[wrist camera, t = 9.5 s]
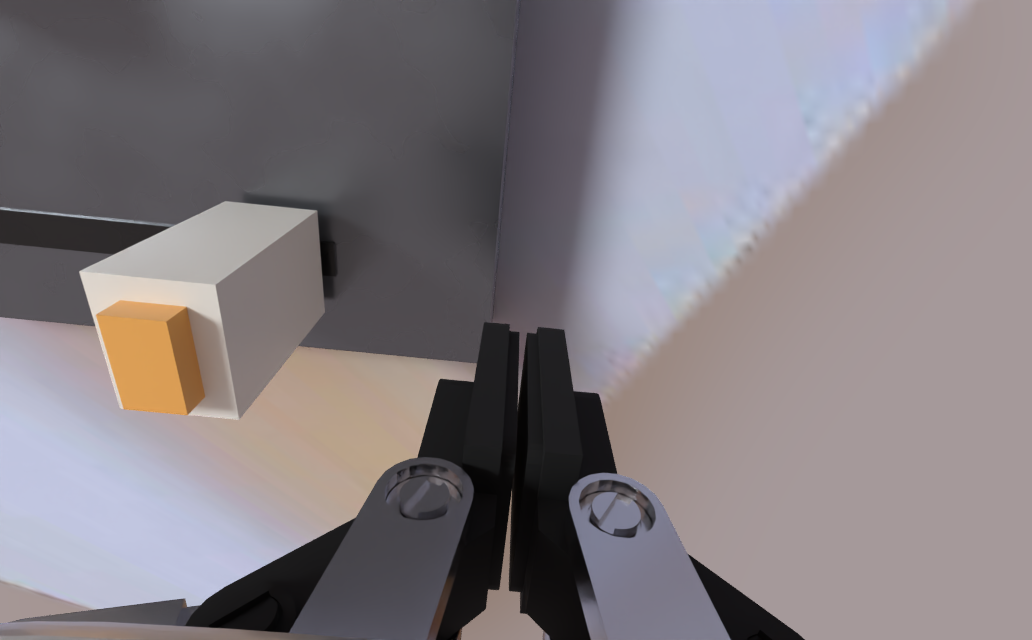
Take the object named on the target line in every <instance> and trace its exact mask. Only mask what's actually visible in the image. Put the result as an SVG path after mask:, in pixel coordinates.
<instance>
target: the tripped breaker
mask: <svg viewBox="0 0 1032 640" xmlns="http://www.w3.org/2000/svg"><path fill="white" fill-rule="evenodd" d="M79 273H80V276H81V280H82V283H83V286H84V290H85V293H86V296H87V300H88V303H89V306H90V310H91V313H92V316H93V320H94V323H95V326H96V330H97V333H98V336H99V340H100V343H101V346H102V350H103V353H104V356H105V360H106V363H107V366H108V370H109V373H110V376H111V380H112V383H113V386H114V390H115V393H116V396H117V400H118V403H119V406H120V409H127V410H138V411H148V412H159V413H170V414H180V415H194V416H205V417H216V418H226V419H237V420H239V419H240V418H241V417H242V415H243V414H244V413H245V412H246V410H247V409H248V408H249V407H250V405H251V404H252V403H253V402H254V400H255V399H256V398H257V397H258V395H259V394H260V393H261V392H262V390H263V389H264V388H265V387H266V385H267V384H268V383H269V382H270V380H271V379H272V378H273V377H274V375H275V374H276V373H277V372H278V370H279V369H280V368H281V367H282V365H283V364H284V363H285V362H286V360H287V359H288V358H289V357H290V355H291V354H292V353H293V352H294V350H295V349H296V348H297V347H298V345H299V344H300V343H301V342H302V340H303V339H304V338H305V337H306V335H307V334H308V333H309V332H310V330H311V329H312V328H313V327H314V325H315V324H316V323H317V322H318V320H319V319H320V318H321V317H322V315H323V314H324V313H325V307H324V294H323V280H322V267H321V254H320V240H319V227H318V214H317V210H307V209H297V208H288V207H278V206H268V205H258V204H249V203H239V202H229V201H225V202H223V203H221V204H218V205H216V206H214V207H212V208H210V209H208V210H206V211H204V212H202V213H200V214H198V215H196V216H193V217H191V218H189V219H187V220H185V221H183V222H181V223H179V224H177V225H175V226H173V227H170V228H168V229H166V230H164V231H162V232H160V233H158V234H156V235H154V236H152V237H150V238H148V239H145V240H143V241H141V242H139V243H137V244H135V245H133V246H131V247H129V248H127V249H125V250H122V251H120V252H118V253H116V254H114V255H112V256H110V257H108V258H106V259H104V260H102V261H99V262H97V263H95V264H93V265H91V266H89V267H87V268H85V269H83V270H81V271H79Z"/></svg>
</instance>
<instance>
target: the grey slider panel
mask: <svg viewBox="0 0 1032 640" xmlns="http://www.w3.org/2000/svg"><path fill="white" fill-rule="evenodd" d="M519 8H520V0H0V317H5V318H15V319H26V320H36V321H46V322H57V323H67V324H77V325H88V326H95V323H94V320H93V316H92V313H91V310H90V306H89V303H88V300H87V296H86V293H85V290H84V286H83V283H82V280H81V276H80V273H79V271H81V270H83V269H85V268H87V267H89V266H91V265H93V264H95V263H97V262H99V261H102V260H104V259H106V258H108V257H110V256H112V255H114V254H116V253H118V252H120V251H122V250H125V249H127V248H129V247H131V246H133V245H135V244H137V243H139V242H141V241H143V240H145V239H148V238H150V237H152V236H154V235H156V234H158V233H160V232H162V231H164V230H166V229H168V228H170V227H173V226H175V225H177V224H179V223H181V222H183V221H185V220H187V219H189V218H191V217H193V216H196V215H198V214H200V213H202V212H204V211H206V210H208V209H210V208H212V207H214V206H216V205H218V204H221V203H223V202H225V201H229V202H239V203H249V204H258V205H268V206H278V207H288V208H297V209H307V210H317V214H318V227H319V240H320V254H321V267H322V280H323V294H324V307H325V313H324V314H323V315H322V317H321V318H320V319H319V320H318V322H317V323H316V324H315V325H314V327H313V328H312V329H311V330H310V332H309V333H308V334H307V335H306V337H305V338H304V339H303V340H302V342H301V343H300V344H299V345H298V346H304V347H315V348H325V349H335V350H345V351H356V352H366V353H376V354H387V355H397V356H407V357H418V358H428V359H438V360H449V361H459V362H469V363H477V361H478V355H479V349H480V343H481V337H482V331H483V325H484V322H489V323H492V319H493V307H494V296H495V284H496V273H497V261H498V250H499V238H500V227H501V215H502V204H503V192H504V181H505V169H506V158H507V146H508V135H509V123H510V112H511V100H512V89H513V77H514V66H515V54H516V43H517V31H518V20H519Z"/></svg>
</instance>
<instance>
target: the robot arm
mask: <svg viewBox="0 0 1032 640" xmlns="http://www.w3.org/2000/svg"><path fill="white" fill-rule="evenodd" d="M509 328H510V324H499V323H489V322H484V325H483V331H482V337H481V343H480V349H479V355H478V361H477V367H476V374H475V380H474V382H468V381H457V380H446V379H440V380H439V382H438V386H437V389H436V393H435V396H434V400H433V404H432V407H431V411H430V414H429V418H428V422H427V425H426V429H425V432H424V436H423V440H422V443H421V447H420V450H419V454H418V458H414V459H409V460H406V461H403V462H400V463H398V464H396V465H394V466H393V467H391V468H390V469H388V470H387V471H385V473H384V474H383V475H382V476H381V477H380V478H379V480H378V481H377V483H376V484H375V486H374V488H373V489H372V491H371V493H370V495H369V496H368V498H367V500H366V501H365V503H364V505H363V507H362V508H361V510H360V512H359V513H358V515H357V517H356V518H354V519H352V520H351V521H349V522H347V523H345V524H343V525H341V526H339V527H337V528H335V529H334V530H332V531H330V532H328V533H326V534H324V535H322V536H320V537H318V538H317V539H315V540H313V541H311V542H309V543H307V544H305V545H303V546H301V547H300V548H298V549H296V550H294V551H292V552H290V553H288V554H286V555H284V556H283V557H281V558H279V559H277V560H275V561H273V562H271V563H269V564H267V565H266V566H264V567H262V568H260V569H258V570H256V571H254V572H252V573H250V574H249V575H247V576H245V577H243V578H241V579H239V580H237V581H235V582H233V583H232V584H230V585H228V586H226V587H224V588H223V589H221V590H220V591H218V592H217V593H215V594H214V595H212V596H211V597H209V598H208V599H206V600H205V602H204V603H203V604H202V605H200V606H192V607H187V605H186V601H185V599H177V600H169V601H161V602H153V603H145V604H137V605H129V606H121V607H113V608H105V609H97V610H89V611H81V612H73V613H65V614H57V615H49V616H41V617H33V618H25V619H20V620H16V621H13V622H9V623H0V640H461V635H462V627H464V626H465V625H466V624H468V623H469V622H470V621H471V620H473V619H474V618H475V617H476V616H478V615H479V614H480V613H481V612H482V611H484V610H485V609H486V602H487V593H488V589H491V590H499V587H500V580H501V572H502V564H503V556H504V547H505V540H506V532H507V523H508V515H509V507H510V499H511V491H512V505H511V538H510V568H509V591H515V592H520V613H525V614H528V615H529V616H530V617H531V618H532V619H533V620H534V621H535V622H536V623H537V624H538V625H539V626H540V627H541V628H542V629H543V630H544V631H543V640H805V639H803V638H802V637H801V636H800V635H799V634H798V633H796V632H795V631H794V630H792V629H791V628H789V627H788V626H787V625H785V624H784V623H783V622H781V621H780V620H778V619H777V618H776V617H774V616H773V615H771V614H770V613H769V612H767V611H766V610H765V609H763V608H762V607H760V606H759V605H758V604H756V603H755V602H753V601H752V600H751V599H749V598H748V597H747V596H745V595H744V594H743V593H741V592H740V591H738V590H737V589H736V588H734V587H733V586H732V585H730V584H729V583H727V582H726V581H724V580H723V579H722V578H720V577H719V576H718V575H716V574H715V573H713V572H712V571H710V570H709V569H708V568H707V567H705V566H704V565H702V564H701V563H700V562H698V561H697V560H695V559H694V558H693V557H691V556H690V555H689V554H687V552H686V550H685V548H684V546H683V544H682V542H681V541H680V538H679V536H678V534H677V532H676V530H675V528H674V527H673V524H672V522H671V521H670V519H669V517H668V514H667V512H666V511H665V509H664V507H663V505H662V504H661V502H660V501H659V499H658V498H657V496H656V495H655V494H654V493H653V492H652V491H650V490H649V489H648V488H647V487H646V486H644V485H643V484H641V483H639V482H637V481H635V480H634V479H632V478H628V477H625V476H622V475H619V474H617V471H616V466H615V462H614V457H613V453H612V449H611V444H610V440H609V436H608V431H607V427H606V422H605V418H604V413H603V409H602V405H601V400H600V397H599V394H597V393H587V392H576V391H573V385H572V379H571V372H570V365H569V358H568V352H567V345H566V338H565V332H564V330H562V329H551V328H541V327H538V329H537V334H532V333H527V338H526V345H525V354H524V362H523V370H522V379H521V387H520V395H519V403H518V366H519V332H511V331H509ZM517 409H518V412H517Z"/></svg>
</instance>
